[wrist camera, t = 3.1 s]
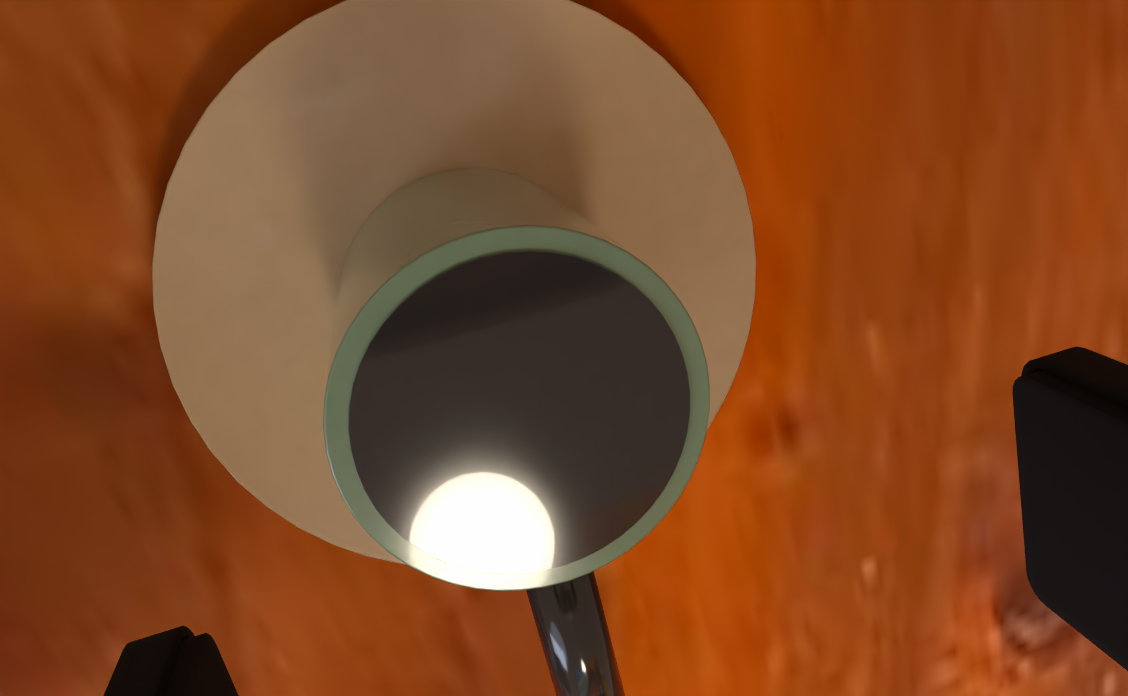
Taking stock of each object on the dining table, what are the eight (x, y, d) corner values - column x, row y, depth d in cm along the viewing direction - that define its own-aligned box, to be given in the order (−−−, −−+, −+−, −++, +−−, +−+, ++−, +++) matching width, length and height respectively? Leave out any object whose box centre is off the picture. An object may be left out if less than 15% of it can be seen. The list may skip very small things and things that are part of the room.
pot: (56, 67, 20) (-160, 76, 12) (691, -83, 22) (887, -166, 14) (321, 729, 27) (301, 1035, 18) (798, 573, 29) (977, 787, 20)
